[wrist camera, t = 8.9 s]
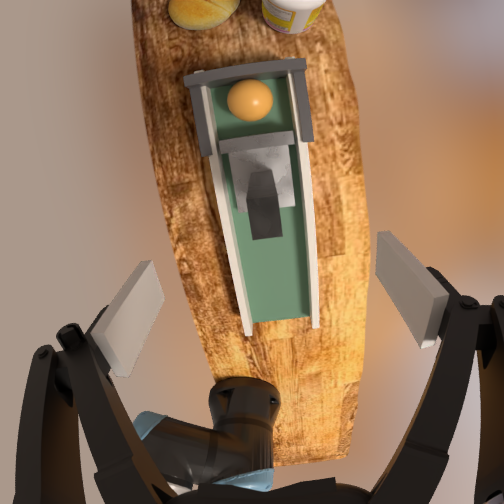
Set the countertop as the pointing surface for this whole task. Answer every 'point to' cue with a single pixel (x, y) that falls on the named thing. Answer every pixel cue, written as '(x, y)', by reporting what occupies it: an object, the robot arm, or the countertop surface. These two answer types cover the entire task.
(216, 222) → the countertop surface
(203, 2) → the bread roll
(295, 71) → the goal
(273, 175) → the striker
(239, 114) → the ball
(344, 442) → the countertop surface
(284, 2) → the supplement bottle
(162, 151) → the countertop surface
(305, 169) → the board
